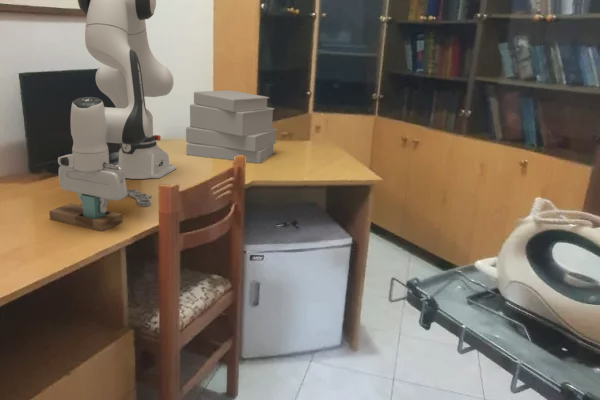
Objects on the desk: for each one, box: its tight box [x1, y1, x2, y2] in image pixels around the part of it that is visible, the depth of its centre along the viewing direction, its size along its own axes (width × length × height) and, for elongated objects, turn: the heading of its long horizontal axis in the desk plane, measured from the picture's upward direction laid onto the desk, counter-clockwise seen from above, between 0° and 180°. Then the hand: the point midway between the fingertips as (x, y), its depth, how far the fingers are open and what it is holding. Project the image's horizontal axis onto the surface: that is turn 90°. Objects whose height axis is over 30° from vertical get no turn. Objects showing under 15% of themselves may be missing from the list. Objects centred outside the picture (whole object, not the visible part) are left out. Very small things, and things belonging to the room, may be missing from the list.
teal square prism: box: [81, 194, 106, 219], centre depth 146 cm, size 4×4×7 cm
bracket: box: [126, 188, 152, 208], centre depth 169 cm, size 8×2×15 cm
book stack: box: [185, 89, 278, 164], centre depth 231 cm, size 30×35×26 cm
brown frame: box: [48, 202, 124, 232], centre depth 148 cm, size 8×18×2 cm, turn 67°
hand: (94, 210), depth 147 cm, fingers closed on teal square prism, 4 cm apart
